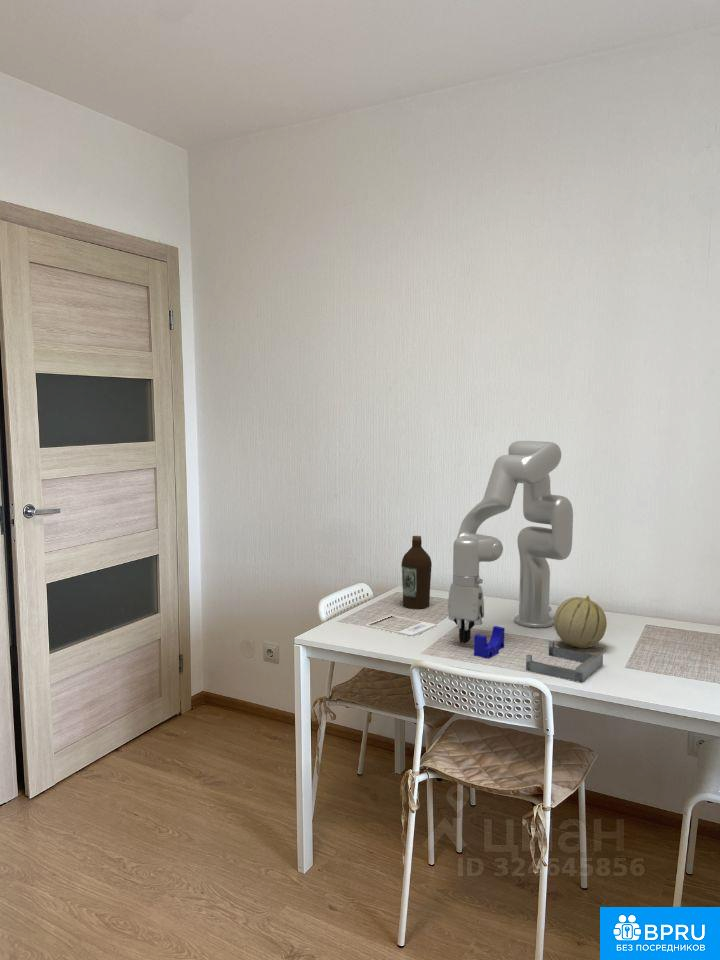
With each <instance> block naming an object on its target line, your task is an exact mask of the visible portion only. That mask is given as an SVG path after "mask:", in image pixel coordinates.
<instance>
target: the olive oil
mask: <svg viewBox="0 0 720 960" xmlns="http://www.w3.org/2000/svg"><path fill="white" fill-rule="evenodd" d="M400 565H401V566H400V567H401V580H402V581H401V582H402V606H403V607H404V608H407V609H410V610H411V609H412V610H423V609H427V608H429V607H430V605H431V604H430V603H431V602H430V601H431V600H430V597H431V581H432V580H431V579H432V567H433V566H432V558H431V556H430V555H429V554H428V552H427V551H425V549H424V548H423V546H422V536H421V535H413V536H412V539H411V547H410V548H409V549H408V550H407V551H406V552H405V553H404V555H403V557H402V559H401V564H400Z"/></svg>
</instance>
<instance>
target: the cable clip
mask: <svg viewBox="0 0 720 960" xmlns="http://www.w3.org/2000/svg"><path fill="white" fill-rule="evenodd" d="M505 631H506V629H505V627H503V626H498V625H494V626H492V632H491V636H490V638H489V640H488V641H487V639H488V638H487V636H486V635H483V634H477V633H476V634H474V635H473V639H474V641H473V642H474V643H473V656H476V657H480V658H484V659H487V660H488V659H491V658H492V657H495V656H496V655H498V654H499V651H500V650H502V649H504V648H505Z"/></svg>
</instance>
